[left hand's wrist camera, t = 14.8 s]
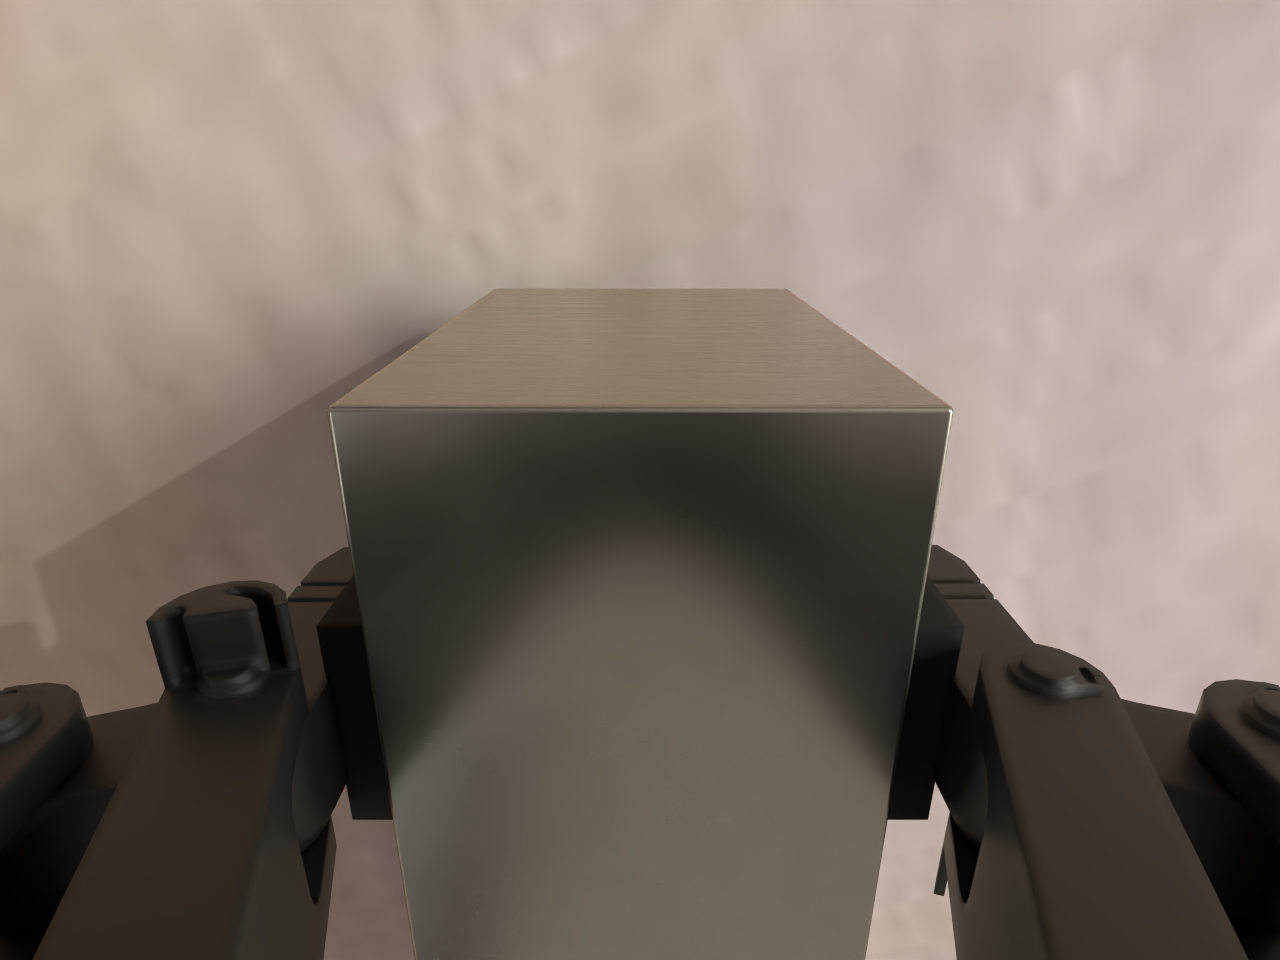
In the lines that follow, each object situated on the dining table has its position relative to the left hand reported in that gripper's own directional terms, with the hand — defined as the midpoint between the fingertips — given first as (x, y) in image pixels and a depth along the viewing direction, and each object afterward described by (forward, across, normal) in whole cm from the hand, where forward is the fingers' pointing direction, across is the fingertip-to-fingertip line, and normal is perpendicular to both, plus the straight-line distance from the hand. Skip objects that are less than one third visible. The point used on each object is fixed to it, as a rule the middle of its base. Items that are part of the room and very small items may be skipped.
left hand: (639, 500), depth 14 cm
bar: (+1, 0, -9) cm, 9 cm away
